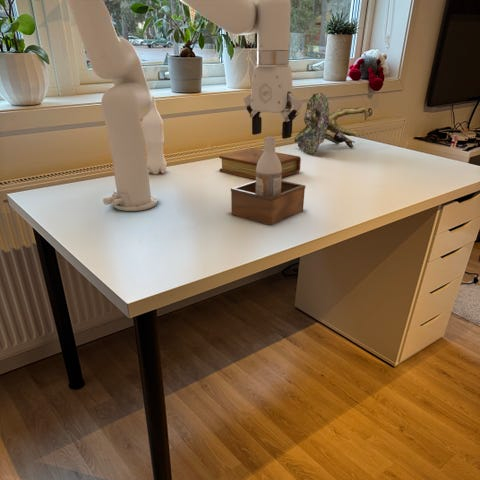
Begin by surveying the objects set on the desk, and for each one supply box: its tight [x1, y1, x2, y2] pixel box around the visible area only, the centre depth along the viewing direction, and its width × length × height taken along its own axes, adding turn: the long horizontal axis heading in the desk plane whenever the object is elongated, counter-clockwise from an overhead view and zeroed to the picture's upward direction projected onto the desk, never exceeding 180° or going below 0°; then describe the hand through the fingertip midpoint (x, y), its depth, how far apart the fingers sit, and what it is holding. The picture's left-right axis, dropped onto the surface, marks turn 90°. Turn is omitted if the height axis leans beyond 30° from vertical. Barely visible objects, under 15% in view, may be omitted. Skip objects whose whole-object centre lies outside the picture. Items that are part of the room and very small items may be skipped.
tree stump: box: [294, 92, 367, 155], centre depth 194 cm, size 23×26×35 cm
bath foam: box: [255, 135, 283, 197], centre depth 122 cm, size 7×7×20 cm
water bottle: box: [141, 95, 168, 175], centre depth 158 cm, size 7×7×25 cm
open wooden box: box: [230, 180, 306, 226], centre depth 125 cm, size 16×14×7 cm
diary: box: [218, 147, 302, 180], centre depth 164 cm, size 23×19×6 cm
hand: (271, 135), depth 116 cm, fingers open, 9 cm apart
